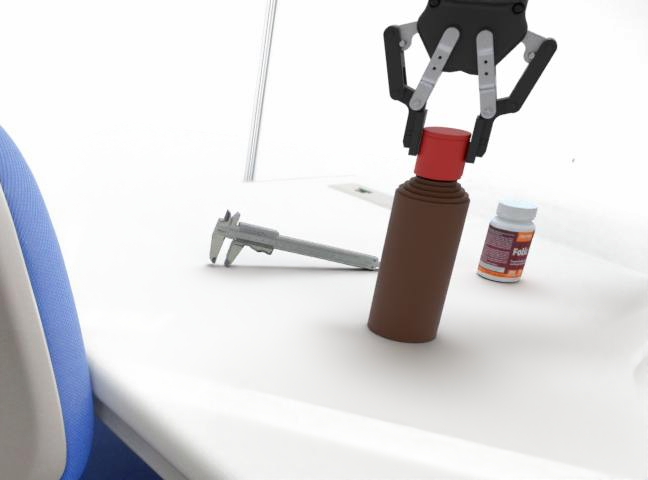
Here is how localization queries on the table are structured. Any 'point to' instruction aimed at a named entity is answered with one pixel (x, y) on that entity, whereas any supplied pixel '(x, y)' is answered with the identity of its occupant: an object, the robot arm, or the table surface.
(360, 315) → the table surface
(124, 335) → the table surface
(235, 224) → the caliper
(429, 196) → the sauce bottle
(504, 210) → the pill bottle
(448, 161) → the cap
